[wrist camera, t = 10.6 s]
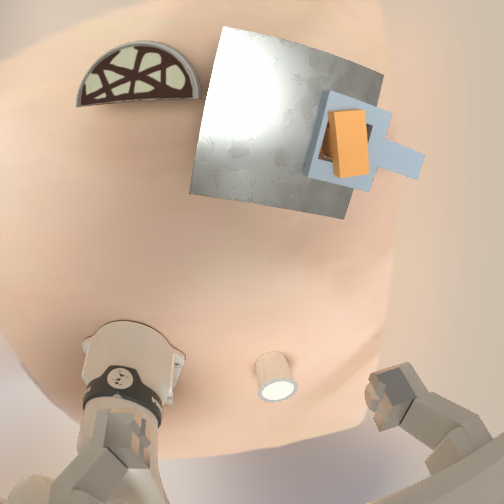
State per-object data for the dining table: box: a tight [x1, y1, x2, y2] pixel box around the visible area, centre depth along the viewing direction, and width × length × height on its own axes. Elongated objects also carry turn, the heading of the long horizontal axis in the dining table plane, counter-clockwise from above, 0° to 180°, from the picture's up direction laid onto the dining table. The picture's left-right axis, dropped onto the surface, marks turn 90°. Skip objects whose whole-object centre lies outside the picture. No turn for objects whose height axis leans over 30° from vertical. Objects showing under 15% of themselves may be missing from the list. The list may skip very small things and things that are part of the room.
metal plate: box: [189, 26, 384, 219], centre depth 31 cm, size 16×16×10 cm
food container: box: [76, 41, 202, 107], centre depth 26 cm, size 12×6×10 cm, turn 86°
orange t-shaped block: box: [320, 109, 369, 178], centre depth 29 cm, size 6×3×8 cm, turn 9°
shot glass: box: [256, 352, 298, 402], centre depth 52 cm, size 7×7×7 cm
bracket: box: [303, 90, 425, 192], centre depth 28 cm, size 8×13×3 cm, turn 78°
